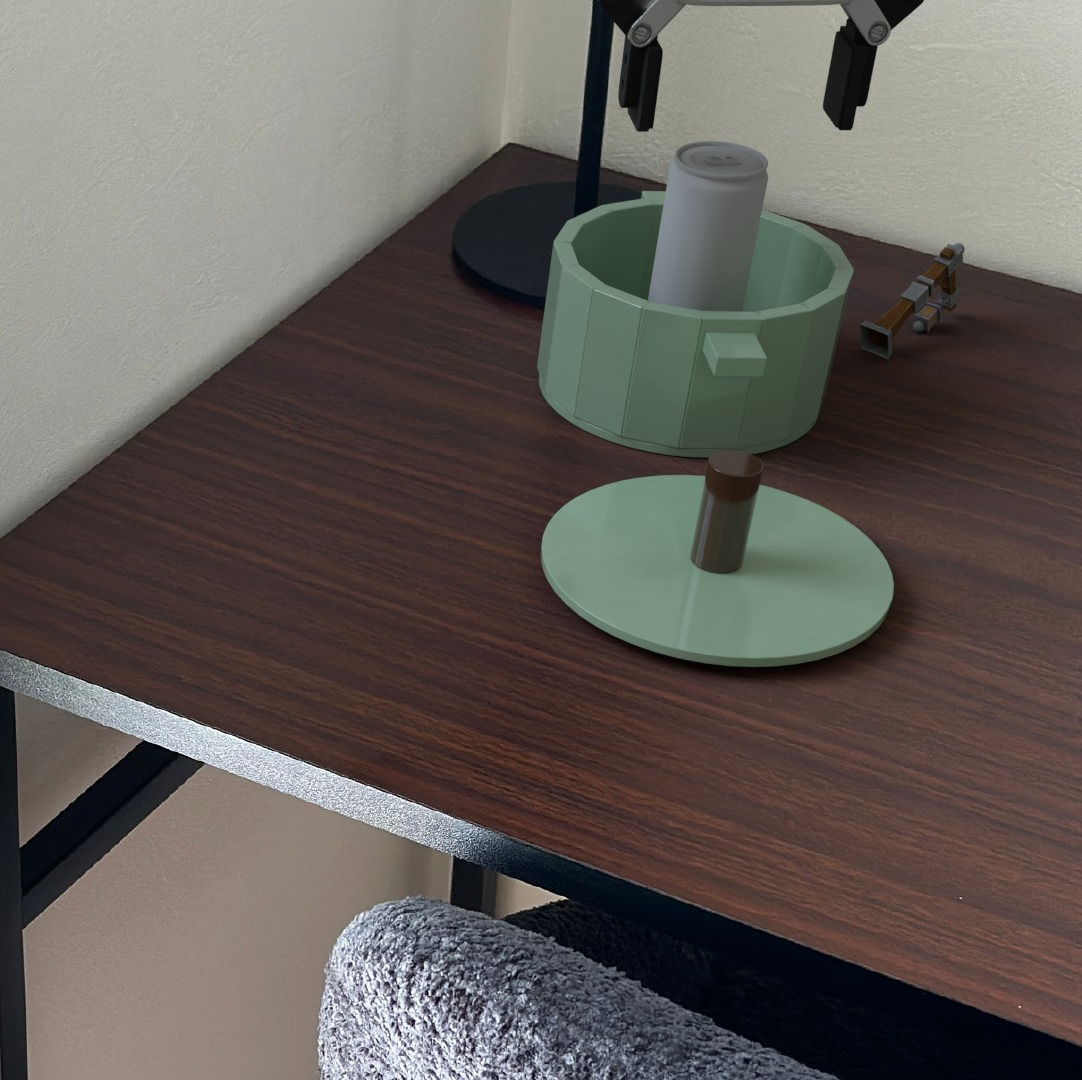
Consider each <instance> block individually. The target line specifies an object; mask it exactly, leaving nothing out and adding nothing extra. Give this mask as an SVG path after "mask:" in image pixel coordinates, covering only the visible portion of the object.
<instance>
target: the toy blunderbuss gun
mask: <svg viewBox="0 0 1082 1080" xmlns="http://www.w3.org/2000/svg"><path fill="white" fill-rule="evenodd" d="M965 250H966V248H965V245H964V244H963V243H961V242H956V243H954V244H950V243H947V244H946V246H944V247H943V249H942V250H941V251H940V252H939V253H938V255H937V256H936V257H935V258H933V264H932V265H931V266H930V268H929V269H927V271H925V272H924V274H923V275H920V274H919V275H918V276H917V277H915V281H912V282H911V284H910V286H908V288H907V289H906V290H905V291H904V292H903V293H902V294H900V300H899V301H898V302H896V304H895V305H894V306H892V308H890V309H889V310H888V311H887V312H885V313H884V314H883V315H882V316H881V317H879V318H878V319H876V320H875V321H874V322H869V321H867V320H864V321H863V322H862V323H859V336H860V337H859V338H860V340H859V341H860V349H862V350H865V351H866V352H870V353H872V354H874V355H877V356H879V357H882V358H884V359H886V360H889V359H890V356H891V355H893V341H894V339H895V337H896V336H897V335H898V333H899V331H900V330H901V328H903V326H904V324H905V323H906V322H907V320H908V319H909V318H910V317H911V316H912V315H914V317H913V318H914V319H913V322H914V323H913V325H912V329H913V331H914V332H916V333H921V332H923V331H925V332H927V333H930V331H931V328H932V327H933V325H934V324H935V323H936V321H937V322H942V311H944V310H945V311H947V312H950V313H952V312H953V311H954V310H955V309H956V308H957V306H958V305H957V302H958V300H957V299H958V298H959V289H958V287H956V286H957V284H956V283H957V281H956V270H957V268H958V267H959V266H960V265H961V264H962V263H963V262H964V254H965ZM937 286H939V287H941V289H940V291H939V299H938V300H936V299H933V302H932V303H931V302H929V297H930V298H933V295H935V289H936V288H937ZM922 307H923V308H922ZM920 308H922V309H921V310H920ZM919 310H920V311H919ZM918 311H919V312H918Z"/></svg>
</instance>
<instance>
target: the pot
mask: <svg viewBox="0 0 1082 1080" xmlns="http://www.w3.org/2000/svg"><path fill="white" fill-rule="evenodd" d="M665 193H666V190H664V191H663V190H642V191H641V196H640V198H638V199H631V200H625V201H619V202H612V203H607V204H601V205H599V206H597V207H594V208H592V209H590V210H588V211H586V212H584V213H581V214H579V215H576V216H575V217H573V218H570V219H568V220H567V221H566V222H565V224H564V225H563V226H562V228H561V230H560V231H559V233H558V234H557V236H556V237H555V239H553V243H552V251H551V259H550V266H549V274H548V280H547V282H548V283H547V289H546V294H545V295H546V297H545V302H544V303H545V304H544V312H543V318H542V326H541V335H540V340H539V349H538V356H537V362H536V363H537V364H536V368H537V371H538V378H537V380H538V387H539V389H540V392H541V394H542V396H543V398H544V399H545V401H546V402H547V403H548V405H549V406H550V407H551V408H552V409H553V410H554V411H555V412H556V413H557V414H558V415H559V416H561V417H562V418H564V419H565V420H566V421H568V422H569V423H571V424H572V425H573V426H575V427H578V429H581V430H583V431H585V432H587V433H589V434H591V435H593V436H595V437H597V438H600V439H603V440H606V441H609V442H611V443H614V444H617V445H621V446H624V447H628V448H631V449H635V450H638V451H644V452H646V453H647V452H648V453H653V454H658V455H666V456H673V457H682V458H698V459H699V458H700V459H709V458H710V456H711V455H712V454H714V453H716V452H719V451H724V450H736V451H742V452H746V453H749V454H752V455H756V454H757V455H758V454H761V453H765V452H769V451H772V450H773V451H774V450H776V449H779V448H782V447H785V446H788V445H790V444H791V443H793V442H795V441H797V440H799V439H800V438H802V437H803V436H804V435H806V434H807V433H808V432H809V431H810V430H811V429H812V428H813V427H814V426H815V425H816V422H817V421H818V419H819V417H820V414H821V409H822V406H823V403H824V400H825V397H826V394H827V390H828V385H829V382H830V381H829V380H830V377H831V372H832V368H833V363H834V361H835V360H834V359H835V356H836V351H837V348H838V347H837V346H838V342H839V337H840V333H841V328H842V324H843V321H844V316H845V312H846V308H847V303H848V299H849V294H850V290H851V286H852V282H853V278H854V277H853V276H854V273H855V270H854V267H853V266H852V264H851V262H850V261H849V259H848V257H847V256H846V254H845V253H844V250H843V249H842V247H841V246H840V245H839V244H838V243H836V242H835V241H833V240H832V239H830V238H828V237H826V236H825V235H824V234H822V233H820V232H818V231H817V230H815V229H814V228H813V227H812V226H810V225H807V224H806V223H804V222H801V221H798V220H795V219H792V218H788V217H786V216H782V215H780V214H777V213H774V212H771V211H768V210H765V209H762V212H761V218H760V223H759V228H758V233H757V238H756V243H755V248H754V253H753V258H752V263H751V268H750V273H749V279H748V284H747V289H746V294H745V299H744V304H743V309H742V312H732V311H700V310H694V309H689V308H683V307H677V306H672V305H666V304H661V303H655V302H650V301H648V296H649V290H650V284H651V278H652V272H653V266H654V260H655V254H656V248H657V242H658V236H659V230H660V224H661V218H662V212H663V205H664V199H665Z"/></svg>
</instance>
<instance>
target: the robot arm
mask: <svg viewBox="0 0 1082 1080" xmlns="http://www.w3.org/2000/svg"><path fill="white" fill-rule="evenodd" d="M924 1H925V0H597V2H598V4H599V5H600V7H601V9H602V10H603V11H604V12H605V13H606V14H607V16H608V17H609V18H610V20H612V21H613V23H614V24H615V25H616V26H617V27H618V28H619V30H620V31H621V32H622V33H623V34H624V42H623V50H622V57H621V66H620V74H619V84H618V91H617V92H618V93H617V94H618V96H617V97H618V104H619V106H620V109H627V114H628V116H629V119H630V121H631V123H632V124H633V126H634V129H635V131H636V132H637V133H642V132H643V133H645V132H646V133H649V131H650V130H653V127H654V123H655V116H656V110H657V102H658V94H659V87H660V80H661V72H662V71H661V70H662V64H663V56H664V52H663V51H664V50H663V48H662V46H661V44H660V42H659V41H658V38H659V34H660V33H661V32H662V31H663V30H664V29H665V28H666V27H667V26H668V24H669V23H670V22H671V21H672V20H673V19H674V18H675V17H676V16H677V15H678V14H679V13H680V12H681V11H682V10H683V9H684V8H685V6H687V5H688V6H696V7H697V6H698V7H795V6H796V7H798V6H800V7H801V6H803V7H804V6H807V7H808V6H810V7H811V6H832V5H834V6H835V5H839V6H840V7H841V8H842V10H843V11H844V13H845V15H846V16H847V19H846V21H845V25H840V26H839V30H837V31H836V32H835V35H834V41H833V46H832V52H831V58H830V61H829V62H830V63H829V68H828V73H827V79H826V84H825V90H824V95H823V100H822V110H823V111H824V113H825V114H826V116H827V117H828V119H829V120H830V122H831V123H832V125H833V126H834V127H835V129H838V130H839V131H852V130H853V127H854V123H855V118H856V113H857V108H858V107H865V106H866V105H867V102H868V96H869V93H870V87H871V82H872V77H873V72H874V67H875V62H876V56H877V52H878V46H882V45H883V44H884V43H886V42H887V41H888V40H889V38H890V35H891V32H892V30H893V29H895V28H897V26H898V25H899V24H901V22H903V21H904V20H905V19H906V18H908V17H909V16H910V15H911V14H912V13H913V12H914V11H915V10H917V9H918V8H919V7H920V6H921V5H922V4H923V3H924Z"/></svg>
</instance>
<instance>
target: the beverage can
mask: <svg viewBox="0 0 1082 1080" xmlns="http://www.w3.org/2000/svg"><path fill="white" fill-rule="evenodd" d="M768 166H769V161H768V158H767V157H766V155H764V154H763V153H762V152H760V151H758V150H756V149H755V148H753V147H752V148H751V147H749V146H746V145H742V144H739V143H734V142H728V141H717V140H705V141H704V140H703V141H702V140H701V141H695V142H689V143H686V144H683V145H681V146H680V147H678V148H677V149H676V151H675V153H674V160H672V162H671V165H670V166H669V170H668V175H667V182H666V188H665V191H666V193H665V199H664V205H663V212H662V218H661V224H660V230H659V236H658V242H657V248H656V254H655V260H654V266H653V272H652V278H651V284H650V290H649V296H648V301H650V302H655V303H661V304H666V305H672V306H677V307H683V308H689V309H694V310H700V311H732V312H742V309H743V304H744V299H745V294H746V289H747V284H748V279H749V273H750V268H751V263H752V258H753V253H754V248H755V243H756V238H757V233H758V228H759V223H760V218H761V212H762V210H763V207H764V202H765V197H766V192H767V186H768V181H769V174H768V171H767V169H768Z"/></svg>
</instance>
